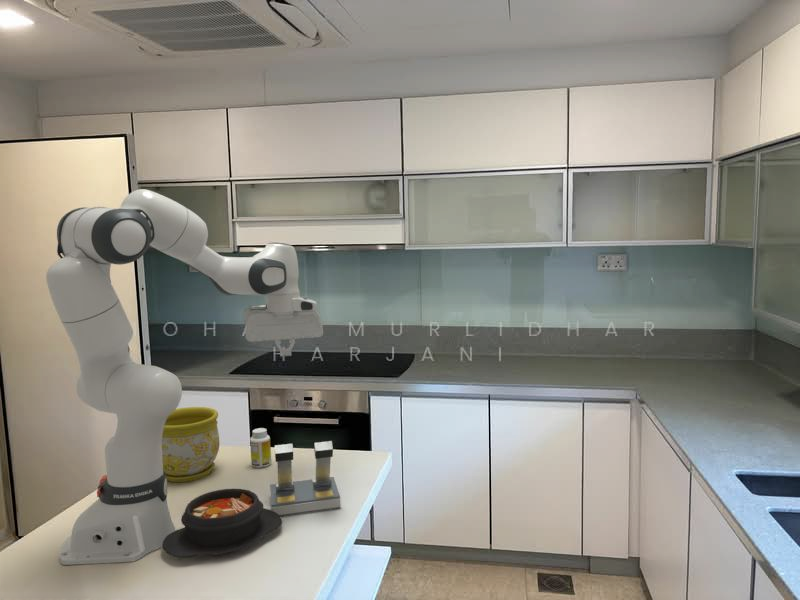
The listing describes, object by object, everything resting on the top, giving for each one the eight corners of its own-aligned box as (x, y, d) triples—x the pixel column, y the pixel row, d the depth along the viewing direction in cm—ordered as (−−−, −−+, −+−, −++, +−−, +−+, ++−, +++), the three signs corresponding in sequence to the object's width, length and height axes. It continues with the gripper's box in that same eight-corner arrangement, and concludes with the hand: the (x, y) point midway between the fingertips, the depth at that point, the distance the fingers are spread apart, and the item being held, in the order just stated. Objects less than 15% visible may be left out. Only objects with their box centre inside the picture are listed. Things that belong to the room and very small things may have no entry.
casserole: (264, 508, 144) (263, 474, 143) (295, 540, 128) (293, 502, 127) (154, 539, 130) (152, 502, 129) (174, 579, 115) (171, 537, 114)
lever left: (276, 495, 144) (274, 453, 135) (275, 487, 145) (273, 445, 137) (294, 493, 145) (294, 451, 136) (293, 485, 146) (293, 443, 138)
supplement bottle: (272, 460, 174) (270, 426, 173) (270, 467, 168) (268, 432, 167) (253, 461, 173) (251, 427, 172) (250, 469, 168) (248, 433, 167)
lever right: (313, 491, 146) (314, 451, 136) (312, 482, 148) (313, 442, 138) (331, 488, 147) (333, 449, 137) (330, 480, 149) (332, 440, 139)
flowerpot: (216, 483, 159) (212, 423, 157) (145, 489, 156) (140, 428, 154) (225, 458, 176) (222, 404, 175) (162, 463, 174) (158, 408, 172)
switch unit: (271, 518, 138) (271, 504, 138) (270, 495, 150) (269, 483, 150) (340, 508, 142) (340, 495, 142) (334, 487, 154) (333, 475, 153)
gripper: (242, 307, 152) (245, 361, 154) (322, 303, 157) (324, 355, 159) (242, 305, 158) (245, 356, 160) (320, 301, 163) (322, 350, 165)
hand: (285, 355), depth 159 cm, fingers closed
